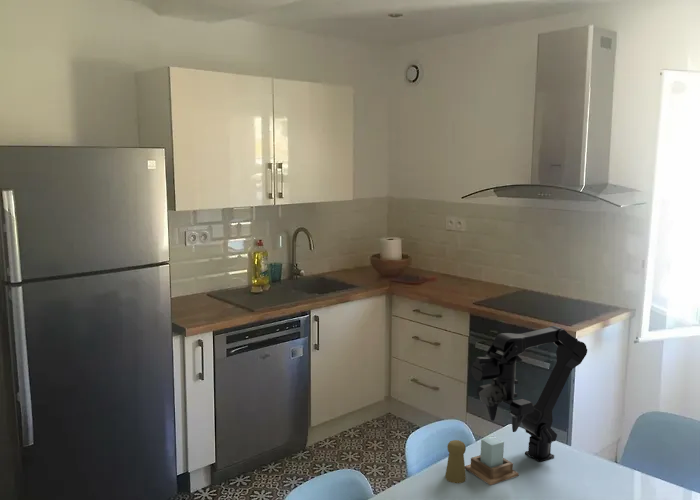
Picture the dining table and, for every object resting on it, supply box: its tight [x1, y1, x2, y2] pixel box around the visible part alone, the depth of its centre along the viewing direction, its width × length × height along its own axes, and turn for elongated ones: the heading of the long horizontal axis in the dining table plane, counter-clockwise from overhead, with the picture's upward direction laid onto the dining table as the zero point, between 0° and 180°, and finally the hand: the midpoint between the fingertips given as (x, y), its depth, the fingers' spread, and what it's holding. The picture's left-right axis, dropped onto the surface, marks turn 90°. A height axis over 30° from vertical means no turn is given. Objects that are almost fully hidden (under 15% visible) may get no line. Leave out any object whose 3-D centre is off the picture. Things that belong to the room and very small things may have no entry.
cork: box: [444, 439, 467, 484], centre depth 176 cm, size 6×6×11 cm
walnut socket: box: [465, 454, 519, 486], centre depth 180 cm, size 11×11×4 cm
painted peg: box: [480, 436, 505, 468], centre depth 179 cm, size 5×5×9 cm
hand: (503, 426), depth 184 cm, fingers open, 9 cm apart
